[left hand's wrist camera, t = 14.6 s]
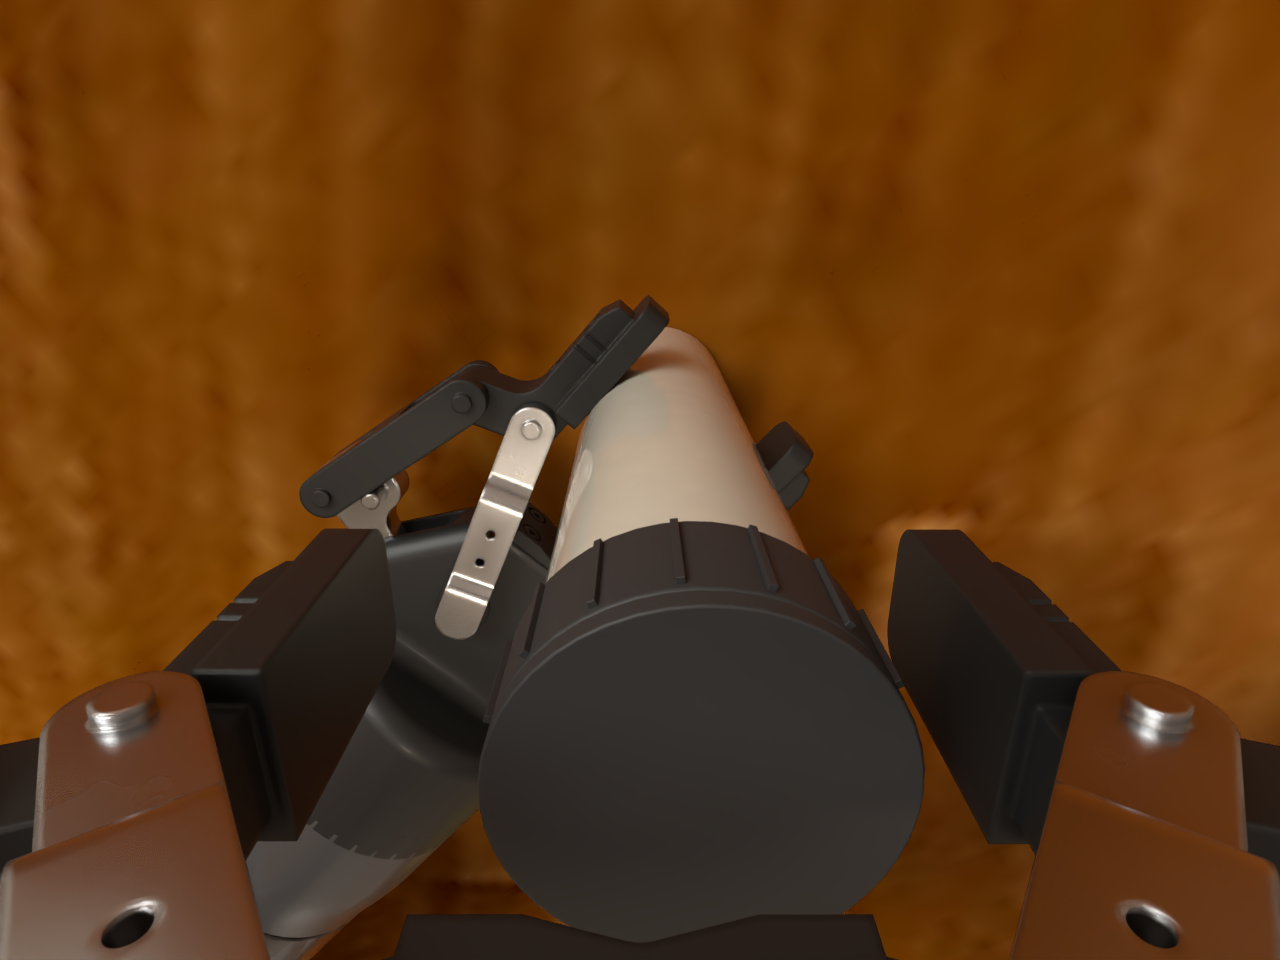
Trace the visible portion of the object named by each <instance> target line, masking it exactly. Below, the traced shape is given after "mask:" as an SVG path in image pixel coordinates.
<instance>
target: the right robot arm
mask: <svg viewBox="0 0 1280 960" xmlns="http://www.w3.org/2000/svg"><path fill="white" fill-rule="evenodd" d="M669 320H670V319H669V315H668V312H667V311H665V310H664V309H663V308H662V307H661V306H660V305H659V304H658V303H657V302H656V301H655V300H653V299H652V298H651V297H650V296H649V295H648V296H647V297H645V298H644V299H643V300H642V301H641V302H640V304H639V305H638V306H637V307H636V308H635V309H634V310H631V309H630V308H629V307H628V306H627V305H626V304H625V303H624V302H623V301H621V300H618V301H616V302H614V303H612V304H610V305H608V306H606V307H604V308H602V309H601V311H600V312H599V313H598V314H597V315H596V316H595V317H594V319H593V320H592V321H591V322H590V323H589V325H588V326H587V327H586V328H585V329H584V330H583V331H582V333H581V334H580V335H579V336H578V337H577V338H576V340H575V341H574V342H573V343H572V344H571V345H570V347H569V348H568V349H567V350H566V351H565V352H564V354H563V355H562V356H561V357H560V358H559V359H558V361H557V362H556V363H555V364H554V365H553V366H552V367H551V369H550V370H549V371H548V372H547V373H546V374H545V375H544V376H542V377H541V378H539V379H536V380H533V381H521V380H517V379H515V378H512V377H509V376H507V375H504V374H501V373H499V372H498V370H497V369H496V368H495V367H494V366H493V365H492V364H490V363H489V362H486V361H482V360H477V361H472V362H470V363H468V364H467V365H465V366H464V367H462V368H461V369H459V370H458V371H456V372H455V373H453V374H452V375H450V376H449V377H448V378H446V379H445V380H443V381H442V382H440V383H439V384H437V385H436V386H434V387H433V388H432V389H430V390H429V391H427V392H426V393H424V394H423V395H421V396H420V397H418V398H417V399H415V400H414V401H413V402H411V403H410V404H408V405H407V406H405V407H404V408H402V409H401V410H399V411H398V412H396V413H395V414H394V415H392V416H391V417H389V418H388V419H386V420H385V421H383V422H382V423H380V424H379V425H378V426H376V427H375V428H373V429H372V430H370V431H369V432H367V433H366V434H364V435H363V436H361V437H360V438H359V439H357V440H356V441H354V442H353V443H351V444H350V445H348V446H347V447H345V448H344V449H342V450H341V451H340V452H339V453H337V454H336V455H335V456H334V457H333V458H332V459H330V460H329V461H328V462H327V463H326V464H324V465H323V466H322V467H321V468H320V469H319V470H317V471H316V472H315V473H314V474H313V475H312V476H311V477H310V478H308V479H307V480H306V481H305V482H304V483H303V484H302V486H301V488H300V500H301V503H302V505H303V506H304V508H305V509H306V510H307V511H308V512H310V513H311V514H313V515H315V516H317V517H322V518H329V517H333V516H335V515H337V516H338V518H339V519H340V520H341V521H342V522H343V523H344V524H345V526H346V527H347V528H348V529H378V530H379V531H380V532H381V533H382V535H383V538H384V541H385V546H386V553H387V560H388V567H389V574H390V582H391V589H392V596H393V604H394V611H395V618H396V644H395V650H394V655H393V658H392V661H391V664H390V666H389V668H388V670H387V672H386V674H385V675H384V677H383V679H382V681H381V683H380V685H379V687H378V689H377V691H376V693H375V694H374V696H373V698H372V700H371V702H370V704H369V706H368V708H367V710H366V712H365V713H364V715H363V717H362V719H361V721H360V723H359V725H358V727H357V729H356V731H355V732H354V734H353V736H352V738H351V740H350V742H349V744H348V746H347V748H346V750H345V751H344V753H343V755H342V757H341V759H340V761H339V763H338V765H337V767H336V769H335V770H334V772H333V774H332V776H331V778H330V780H329V782H328V784H327V786H326V788H325V790H324V791H323V793H322V795H321V797H320V799H319V801H318V803H317V805H316V807H315V809H314V810H313V812H312V814H311V816H310V818H309V820H308V822H307V824H306V826H305V828H304V829H303V831H302V833H301V835H300V837H299V839H298V841H257V843H256V845H255V846H254V848H253V850H252V852H251V853H250V855H249V857H248V858H247V860H246V864H247V868H248V871H249V875H250V879H251V883H252V887H253V891H254V895H255V899H256V903H257V907H258V911H259V915H260V919H261V923H262V927H263V931H264V935H265V939H266V943H267V947H268V951H269V955H270V959H271V960H311V959H312V957H313V956H315V955H316V954H317V953H318V952H319V951H320V950H321V949H322V948H323V947H324V946H325V945H326V944H327V943H328V942H329V941H330V940H331V939H332V938H334V937H335V936H336V935H337V934H338V933H339V932H340V931H341V930H342V929H343V928H344V927H345V926H346V925H347V924H348V923H349V922H350V921H351V920H352V919H353V918H354V917H355V916H356V915H358V914H359V913H360V912H361V911H363V910H364V909H366V908H367V907H369V906H370V905H372V904H373V903H375V902H377V901H378V900H379V899H381V898H382V897H384V896H385V895H386V894H388V893H389V892H390V891H392V890H393V889H394V888H396V887H397V886H398V885H399V884H400V883H401V882H403V881H404V880H405V879H406V878H407V877H408V876H409V875H410V874H411V873H412V872H413V871H414V870H415V869H416V868H418V867H419V866H420V865H421V864H422V863H423V862H424V861H425V860H426V859H427V858H428V857H429V856H430V855H431V854H432V853H433V852H434V851H435V850H436V849H437V848H438V847H439V846H440V845H441V844H442V843H443V842H445V841H446V840H447V839H448V838H449V837H450V836H451V835H452V834H453V833H454V832H455V831H456V830H457V829H458V828H460V827H461V826H462V825H463V824H464V823H465V822H466V821H467V820H468V819H469V818H470V817H471V816H472V815H473V814H474V813H475V812H476V811H477V810H478V809H479V808H480V807H479V797H478V774H479V764H480V757H481V753H482V750H483V746H484V743H485V739H486V736H487V732H488V728H489V723H485V722H483V719H484V715H485V712H486V709H487V705H488V702H489V698H490V695H491V691H492V688H493V684H494V681H495V678H496V674H497V671H498V667H499V664H500V660H501V657H502V653H503V650H504V647H505V643H506V641H511V642H512V641H513V638H514V634H515V631H516V629H517V627H518V625H519V623H520V620H521V618H522V616H523V614H524V612H525V611H526V609H527V607H528V606H529V604H530V603H531V601H532V600H533V596H534V592H535V588H536V586H537V585H538V584H539V583H540V582H541V583H542V584H544V585H545V581H546V577H547V573H548V569H549V564H550V560H551V556H552V551H553V547H554V543H555V539H556V534H557V529H556V527H555V526H554V525H553V523H552V522H551V521H550V519H549V518H548V517H547V516H545V515H544V514H543V513H542V512H540V511H539V510H538V509H537V508H535V507H534V506H533V505H531V504H530V503H529V502H528V501H529V498H530V496H531V493H532V491H533V488H534V486H535V483H536V481H537V478H538V476H539V473H540V471H541V468H542V466H543V463H544V461H545V458H546V456H547V453H548V451H549V448H550V446H551V443H552V441H553V440H554V439H555V438H556V436H557V435H558V434H559V433H560V432H561V431H562V430H563V429H564V427H565V426H566V425H567V424H569V425H570V426H571V427H572V428H573V429H575V428H576V427H577V426H578V425H579V424H580V423H581V422H582V421H583V420H584V418H585V417H586V416H587V415H588V414H589V413H590V412H591V411H592V409H593V408H594V407H595V406H596V405H597V403H598V402H599V401H600V400H601V399H602V398H603V397H604V396H605V395H606V394H607V393H608V392H609V391H610V389H611V388H612V387H613V386H614V385H615V384H616V383H617V382H618V380H619V379H620V378H621V377H622V376H623V375H624V374H625V373H626V372H627V370H628V369H629V368H630V367H631V366H632V365H633V364H634V363H635V362H636V360H637V359H638V358H639V357H640V356H641V355H642V354H643V353H644V352H645V350H646V349H647V348H648V347H649V346H650V345H651V344H652V343H653V341H654V340H655V339H656V338H657V337H658V336H659V335H660V334H661V332H662V331H663V330H664V328H665V327H666V326H667V324H668V322H669ZM471 425H476V426H478V427H481V428H484V429H487V430H489V431H492V432H495V433H497V434H500V435H503V436H504V438H503V441H502V444H501V446H500V449H499V451H498V454H497V457H496V459H495V462H494V465H493V467H492V470H491V473H490V475H489V478H488V480H487V482H486V485H485V487H484V489H483V492H482V494H481V497H480V499H479V502H478V505H477V506H475V507H470V508H465V509H460V510H455V511H451V512H446V513H441V514H436V515H431V516H426V517H421V518H416V519H412V520H407V521H402V522H401V521H400V520H399V518H398V516H397V513H396V506H397V503H398V502H399V501H400V499H401V498H402V497H403V495H404V494H405V493H406V491H407V490H408V487H409V477H408V474H407V472H406V471H405V469H406V468H408V467H409V466H411V465H412V464H414V463H415V462H417V461H418V460H420V459H421V458H423V457H425V456H426V455H428V454H429V453H431V452H432V451H434V450H435V449H437V448H438V447H440V446H441V445H443V444H444V443H446V442H447V441H449V440H450V439H452V438H453V437H455V436H456V435H458V434H459V433H461V432H462V431H464V430H465V429H467V428H468V427H470V426H471ZM756 447H757V449H758V451H759V453H760V455H761V457H762V459H763V461H764V464H765V466H766V468H767V470H768V472H769V474H770V476H771V478H772V480H773V482H774V484H775V487H776V489H777V491H778V493H779V495H780V497H781V499H782V501H783V503H784V505H785V507H786V509H787V510H788V509H790V508H791V507H792V506H793V505H794V504H795V503H796V502H797V501H798V500H799V499H800V498H801V497H802V495H803V493H804V491H805V489H806V487H807V485H808V483H809V481H810V478H809V477H808V475H807V474H806V472H805V470H804V469H805V468H806V467H807V466H808V464H809V463H810V461H811V460H812V457H813V451H812V450H811V448H810V447H809V445H808V444H807V442H806V441H805V439H804V438H803V437H802V436H801V435H800V434H799V433H798V432H796V431H795V430H794V429H793V428H792V427H791V426H790V425H789V424H788V423H787V422H782V423H780V424H778V425H777V426H775V427H774V428H773V429H772V430H771V431H770V432H769V433H768V434H767V435H766V436H765V437H764V438H763V439H762V440H761V441H760V442H759V443H758V444H757V445H756Z"/></svg>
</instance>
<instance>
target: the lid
mask: <svg viewBox="0 0 1280 960" xmlns="http://www.w3.org/2000/svg"><path fill="white" fill-rule="evenodd" d="M902 687H904V684H903V681H902V679H901V678H900V676H899V674H898V672H897V670H896V669H895V667H894V665H893V663H892V661H891V659H890V658H889V656H888V654H887V652H886V650H885V648H884V647H883V645H882V643H881V641H880V639H879V638H878V636H877V634H876V632H875V630H874V628H873V627H872V625H871V623H870V621H869V619H868V618H867V616H866V614H865V612H864V610H863V609H861V610H859V611H857V610H856V608H855V607H854V605H853V603H852V601H851V600H850V598H849V597H848V596H847V594H846V593H845V591H844V590H843V588H842V587H841V586H840V584H839V583H838V582H837V581H836V580H835V579H834V578H833V577H832V576H831V575H830V573H829V571H828V569H827V567H826V565H825V563H824V561H823V560H821V559H820V558H819V557H817V558H816V559H815V560H813V559H812V558H810V557H809V556H808V555H807V554H805V553H803V552H802V551H800V550H798V549H797V548H795V547H793V546H791V545H790V544H788V543H786V542H784V541H782V540H780V539H777V538H775V537H772V536H770V535H768V534H765V533H763V532H759V531H758V528H757V526H754V525H749V527H748V528H745V527H741V526H738V525H731V524H724V523H718V522H706V521H681V522H678V518H672V519H670V523H660V524H656V525H651V526H646V527H642V528H637V529H634V530H631V531H628V532H625V533H622V534H619V535H617V536H614V537H611V538H609V539H607V540H605V541H602V540H601V538H600V539H598V540H595V541H594V543H593V547H591V548H589V549H587V550H586V551H584V552H583V553H581V554H580V555H578V556H577V557H575V558H574V559H572V560H571V561H569V562H568V563H567V564H566V565H565V566H563V567H562V568H561V569H560V570H559V571H558V572H556V573H555V574H554V575H553V576H552V577H551V578H550V579H549V580H548V581H547V582H546V584H545V585H544V584H542V583H541V582H540V583H539V584H538V585H537V586H536V588H535V592H534V596H533V600H532V601H531V603H530V604H529V606H528V607H527V609H526V611H525V612H524V614H523V616H522V618H521V620H520V623H519V625H518V627H517V629H516V631H515V634H514V638H513V641H512V642H511V641H506V643H505V647H504V650H503V653H502V657H501V660H500V664H499V667H498V671H497V674H496V678H495V681H494V684H493V688H492V691H491V695H490V698H489V702H488V705H487V709H486V712H485V715H484V719H483V722H485V723H489V728H488V732H487V736H486V739H485V743H484V746H483V750H482V753H481V757H480V764H479V774H478V797H479V807H480V811H481V816H482V820H483V825H484V828H485V831H486V833H487V836H488V838H489V841H490V843H491V846H492V848H493V850H494V852H495V854H496V856H497V857H498V859H499V861H500V862H501V864H502V866H503V867H504V869H505V870H506V872H507V873H508V874H509V875H510V877H511V878H512V879H513V880H514V882H515V883H516V884H517V885H518V887H519V888H520V889H521V890H522V891H523V892H525V893H526V894H527V895H528V896H529V897H530V898H531V899H532V900H533V901H534V902H535V903H536V904H537V905H539V906H540V907H541V908H543V909H544V910H546V911H547V912H548V913H550V914H551V915H552V916H554V917H555V918H557V919H558V920H560V921H562V922H564V923H565V924H567V925H569V926H571V927H573V928H577V929H581V930H585V931H589V932H593V933H597V934H601V935H605V936H609V937H613V938H617V939H621V940H625V941H629V942H635V943H645V942H651V941H655V940H659V939H663V938H667V937H671V936H675V935H679V934H683V933H687V932H691V931H695V930H699V929H703V928H707V927H711V926H715V925H719V924H723V923H727V922H731V921H735V920H739V919H743V918H747V917H751V916H754V915H840V914H842V913H843V912H845V911H846V910H848V909H849V908H850V907H852V906H853V905H854V904H855V903H857V902H858V901H859V900H860V899H862V898H863V897H864V896H865V895H867V894H868V893H869V892H870V891H871V890H872V889H873V888H874V887H875V886H876V885H877V884H878V883H879V882H880V881H881V880H882V879H883V878H884V877H885V875H886V874H887V873H888V871H889V870H890V869H891V867H892V866H893V865H894V863H895V862H896V861H897V859H898V858H899V856H900V855H901V853H902V851H903V849H904V848H905V846H906V844H907V842H908V841H909V839H910V837H911V834H912V832H913V829H914V826H915V824H916V821H917V819H918V816H919V812H920V807H921V802H922V798H923V792H924V772H925V767H924V758H923V750H922V744H921V740H920V737H919V734H918V730H917V727H916V724H915V721H914V719H913V717H912V715H911V713H910V711H909V709H908V707H907V705H906V703H905V701H904V699H903V697H902V695H901V693H900V691H899V688H902Z"/></svg>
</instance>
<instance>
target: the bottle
mask: <svg viewBox="0 0 1280 960" xmlns="http://www.w3.org/2000/svg"><path fill="white" fill-rule="evenodd" d="M672 518H678V522H681V521H706V522H718V523H724V524H731V525H738V526H741V527H745V528H748V527H749V525H754V526H757V528H758V531H759V532H763V533H765V534H768V535H770V536H772V537H775V538H777V539H780V540H782V541H784V542H786V543H788V544H790V545H791V546H793V547H795V548H797V549H798V550H800V551H802V552H803V553H805V554H807V555H808V553H807V551H806V549H805V547H804V545H803V543H802V541H801V539H800V537H799V534H798V532H797V530H796V528H795V526H794V524H793V522H792V520H791V518H790V516H789V514H788V512H787V509H786V507H785V505H784V503H783V501H782V499H781V497H780V495H779V493H778V491H777V489H776V487H775V484H774V482H773V480H772V478H771V476H770V474H769V472H768V470H767V468H766V466H765V464H764V461H763V459H762V457H761V455H760V453H759V451H758V449H757V447H756V445H755V443H754V441H753V439H752V436H751V434H750V432H749V430H748V428H747V426H746V424H745V422H744V420H743V418H742V416H741V414H740V411H739V409H738V407H737V405H736V403H735V401H734V399H733V397H732V395H731V393H730V391H729V389H728V386H727V384H726V382H725V380H724V378H723V376H722V374H721V372H720V370H719V368H718V366H717V364H716V362H715V360H714V358H713V356H712V355H711V353H710V352H709V350H708V349H707V348H706V347H705V346H704V345H703V344H702V343H701V342H699V341H698V340H697V339H696V338H694V337H693V336H691V335H689V334H687V333H685V332H683V331H681V330H677V329H674V328H669V327H665V328H664V330H663V331H662V332H661V334H660V335H659V336H658V337H657V338H656V339H655V340H654V341H653V343H652V344H651V345H650V346H649V347H648V348H647V349H646V350H645V352H644V353H643V354H642V355H641V356H640V357H639V358H638V359H637V360H636V362H635V363H634V364H633V365H632V366H631V367H630V368H629V369H628V370H627V372H626V373H625V374H624V375H623V376H622V377H621V378H620V379H619V380H618V382H617V383H616V384H615V385H614V386H613V387H612V388H611V389H610V391H609V392H608V393H607V394H606V395H605V396H604V397H603V398H602V399H601V400H600V401H599V402H598V403H597V405H596V406H595V407H594V408H593V409H592V411H591V412H590V413H589V414H588V415H587V416H586V417H585V418H584V420H583V423H582V427H581V432H580V436H579V440H578V444H577V449H576V453H575V457H574V462H573V466H572V470H571V474H570V479H569V483H568V487H567V492H566V496H565V500H564V504H563V509H562V513H561V517H560V522H559V526H558V530H557V534H556V539H555V543H554V547H553V551H552V556H551V560H550V564H549V569H548V573H547V577H546V581H545V584H546V582H547V581H548V580H549V579H550V578H551V577H552V576H553V575H554V574H555V573H556V572H558V571H559V570H560V569H561V568H562V567H563V566H565V565H566V564H567V563H568V562H569V561H571V560H572V559H574V558H575V557H577V556H578V555H580V554H581V553H583V552H584V551H586V550H587V549H589V548H591V547H593V543H594V541H595V540H598V539H600V538H601V540H602V541H605V540H607V539H609V538H611V537H614V536H617V535H619V534H622V533H625V532H628V531H631V530H634V529H637V528H642V527H646V526H651V525H656V524H660V523H670V519H672ZM808 556H809V555H808Z"/></svg>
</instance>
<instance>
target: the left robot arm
mask: <svg viewBox="0 0 1280 960" xmlns="http://www.w3.org/2000/svg"><path fill="white" fill-rule="evenodd" d="M1068 619H1069V618H1068V617H1067V616H1066V615H1065V614H1064V613H1063V612H1062V611H1061V610H1060V609H1059V608H1058V607H1057V606H1056V605H1052V604H1051V600H1050V599H1049V598H1048V597H1047V596H1046V595H1045V594H1044V593H1043V592H1042V591H1041V590H1040V589H1039V588H1038V587H1037V586H1036V585H1035V584H1034V583H1033V582H1032V581H1031V580H1030V579H1028V578H1026V577H1024V576H1022V575H1021V574H1019V573H1017V572H1015V571H1013V570H1012V569H1010V568H1008V567H1006V566H1004V565H1002V564H1001V563H999V562H991V561H990V560H989V559H988V558H987V557H986V556H985V555H984V554H983V553H982V552H981V551H980V550H979V548H978V547H977V546H976V545H975V544H974V543H973V542H972V541H971V540H970V539H969V538H968V537H967V536H966V535H965V534H964V533H963V532H962V531H961V530H906V531H905V532H904V533H903V535H902V537H901V539H900V543H899V548H898V554H897V561H896V569H895V576H894V583H893V590H892V597H891V605H890V612H889V619H888V645H889V652H890V656H891V660H892V663H893V665H894V667H895V669H896V670H897V672H898V674H899V676H900V678H901V679H902V681H903V684H904V686H905V688H906V690H907V692H908V693H909V695H910V697H911V699H912V701H913V703H914V705H915V707H916V709H917V710H918V712H919V714H920V716H921V718H922V720H923V722H924V724H925V725H926V727H927V729H928V731H929V733H930V735H931V737H932V739H933V740H934V742H935V744H936V746H937V748H938V750H939V752H940V754H941V755H942V757H943V759H944V761H945V763H946V765H947V767H948V769H949V770H950V772H951V774H952V776H953V778H954V780H955V782H956V784H957V785H958V787H959V789H960V791H961V793H962V795H963V797H964V799H965V800H966V802H967V804H968V806H969V808H970V810H971V812H972V814H973V815H974V817H975V819H976V821H977V823H978V825H979V827H980V829H981V830H982V832H983V834H984V836H985V838H986V840H987V842H988V844H1029V845H1030V847H1031V848H1032V850H1033V852H1034V853H1035V855H1036V856H1035V860H1034V864H1033V868H1032V871H1031V875H1030V879H1029V883H1028V887H1027V891H1026V895H1025V899H1024V903H1023V907H1022V911H1021V915H1020V919H1019V923H1018V927H1017V931H1016V935H1015V939H1014V943H1013V947H1012V951H1011V955H1010V959H1009V960H1280V746H1276V745H1271V744H1266V743H1261V742H1256V741H1251V740H1246V739H1241V738H1240V735H1239V731H1238V730H1237V728H1236V726H1235V724H1234V723H1233V722H1232V721H1231V719H1230V718H1229V717H1228V716H1227V715H1226V714H1225V713H1224V712H1223V711H1222V710H1220V709H1219V708H1218V707H1217V706H1215V705H1214V704H1213V703H1211V702H1210V701H1208V700H1207V699H1205V698H1203V697H1202V696H1200V695H1198V694H1196V693H1194V692H1192V691H1190V690H1188V689H1186V688H1184V687H1182V686H1179V685H1177V684H1174V683H1172V682H1169V681H1166V680H1163V679H1160V678H1156V677H1153V676H1149V675H1145V674H1139V673H1133V672H1124V671H1121V670H1120V669H1119V668H1118V667H1117V666H1116V665H1115V664H1114V663H1113V662H1112V661H1111V660H1110V659H1109V658H1108V657H1107V656H1106V655H1105V654H1104V653H1103V652H1102V651H1101V650H1100V649H1099V648H1098V647H1097V646H1096V645H1095V644H1094V643H1093V642H1092V641H1091V640H1090V639H1089V638H1088V637H1087V636H1086V635H1085V634H1084V633H1083V632H1082V631H1081V630H1080V629H1079V628H1078V627H1077V626H1076V625H1075V624H1074V623H1073V622H1069V620H1068ZM395 644H396V618H395V611H394V604H393V596H392V589H391V582H390V574H389V567H388V560H387V553H386V546H385V541H384V538H383V535H382V533H381V532H380V531H379V530H378V529H324V530H322V531H321V532H320V533H319V534H318V535H317V536H316V537H315V539H314V540H313V541H312V542H311V543H310V544H309V545H308V546H307V547H306V548H305V549H304V550H303V551H302V552H301V554H300V555H299V556H298V557H297V558H296V559H295V560H294V561H286V562H284V563H282V564H280V565H278V566H277V567H275V568H273V569H271V570H269V571H267V572H266V573H264V574H262V575H260V576H258V577H257V578H255V579H254V580H253V581H252V582H251V583H250V584H249V585H248V586H247V587H246V588H245V589H244V590H243V591H242V592H241V593H240V594H239V595H238V596H237V597H236V598H235V599H234V603H230V604H229V605H228V606H227V607H226V608H225V609H224V610H223V611H222V612H221V613H220V614H219V615H218V616H217V621H212V622H211V623H210V624H209V625H208V626H207V627H206V628H205V629H204V630H203V631H202V632H201V633H200V634H199V635H198V636H197V637H196V638H195V639H194V640H193V641H192V642H191V643H190V644H189V645H188V646H187V647H186V648H185V649H184V650H183V651H182V652H181V653H180V654H179V655H178V656H177V657H176V658H175V659H174V660H173V661H172V662H171V663H170V664H169V665H168V666H167V667H166V668H165V669H164V670H163V671H156V672H147V673H141V674H135V675H131V676H127V677H123V678H120V679H117V680H114V681H111V682H108V683H106V684H103V685H101V686H98V687H96V688H94V689H92V690H90V691H88V692H86V693H84V694H82V695H80V696H78V697H77V698H75V699H73V700H72V701H70V702H69V703H67V704H66V705H65V706H63V707H62V708H61V709H60V710H58V711H57V712H56V713H55V714H54V715H53V716H52V717H51V718H50V719H49V721H48V722H47V723H46V724H45V726H44V728H43V730H42V731H41V735H40V738H35V739H30V740H25V741H20V742H14V743H9V744H4V745H0V960H271V959H270V955H269V951H268V947H267V943H266V939H265V935H264V931H263V927H262V923H261V919H260V915H259V911H258V907H257V903H256V899H255V895H254V891H253V887H252V883H251V879H250V875H249V871H248V868H247V864H246V860H247V858H248V857H249V855H250V853H251V852H252V850H253V848H254V846H255V845H256V843H257V841H298V839H299V837H300V835H301V833H302V831H303V829H304V828H305V826H306V824H307V822H308V820H309V818H310V816H311V814H312V812H313V810H314V809H315V807H316V805H317V803H318V801H319V799H320V797H321V795H322V793H323V791H324V790H325V788H326V786H327V784H328V782H329V780H330V778H331V776H332V774H333V772H334V770H335V769H336V767H337V765H338V763H339V761H340V759H341V757H342V755H343V753H344V751H345V750H346V748H347V746H348V744H349V742H350V740H351V738H352V736H353V734H354V732H355V731H356V729H357V727H358V725H359V723H360V721H361V719H362V717H363V715H364V713H365V712H366V710H367V708H368V706H369V704H370V702H371V700H372V698H373V696H374V694H375V693H376V691H377V689H378V687H379V685H380V683H381V681H382V679H383V677H384V675H385V674H386V672H387V670H388V668H389V666H390V664H391V661H392V658H393V655H394V650H395ZM383 960H897V959H894V958H890V957H886V954H885V951H884V948H883V945H882V942H881V939H880V936H879V933H878V929H877V926H876V923H875V920H874V917H873V915H754V916H751V917H747V918H743V919H739V920H735V921H731V922H727V923H723V924H719V925H715V926H711V927H707V928H703V929H699V930H695V931H691V932H687V933H683V934H679V935H675V936H671V937H667V938H663V939H659V940H655V941H651V942H645V943H635V942H629V941H625V940H621V939H617V938H613V937H609V936H605V935H601V934H597V933H593V932H589V931H585V930H581V929H577V928H573V927H569V926H565V925H561V924H557V923H553V922H549V921H545V920H541V919H537V918H533V917H529V916H526V915H407V917H406V920H405V923H404V926H403V929H402V933H401V936H400V939H399V942H398V945H397V948H396V951H395V954H394V957H390V958H386V959H383Z"/></svg>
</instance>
